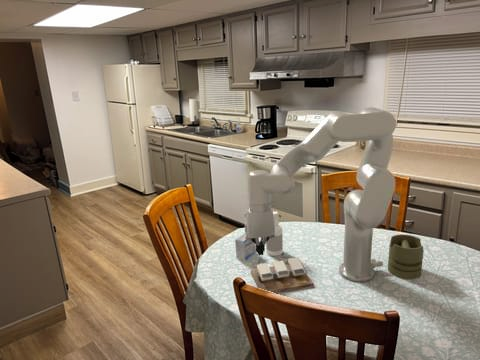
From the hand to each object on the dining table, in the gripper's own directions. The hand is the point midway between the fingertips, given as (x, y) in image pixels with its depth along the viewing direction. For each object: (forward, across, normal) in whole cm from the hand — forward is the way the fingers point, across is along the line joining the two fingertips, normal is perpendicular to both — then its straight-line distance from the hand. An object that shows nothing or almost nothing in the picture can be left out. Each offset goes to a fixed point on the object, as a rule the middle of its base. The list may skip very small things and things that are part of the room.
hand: (260, 253), depth 132 cm
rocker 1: (+6, -1, +3) cm, 7 cm away
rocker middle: (+6, -7, +3) cm, 9 cm away
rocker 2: (+6, -13, +3) cm, 14 cm away
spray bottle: (+10, -11, -17) cm, 23 cm away
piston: (+9, -52, +11) cm, 54 cm away
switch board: (+10, -7, +3) cm, 12 cm away
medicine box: (+10, +1, -18) cm, 21 cm away
